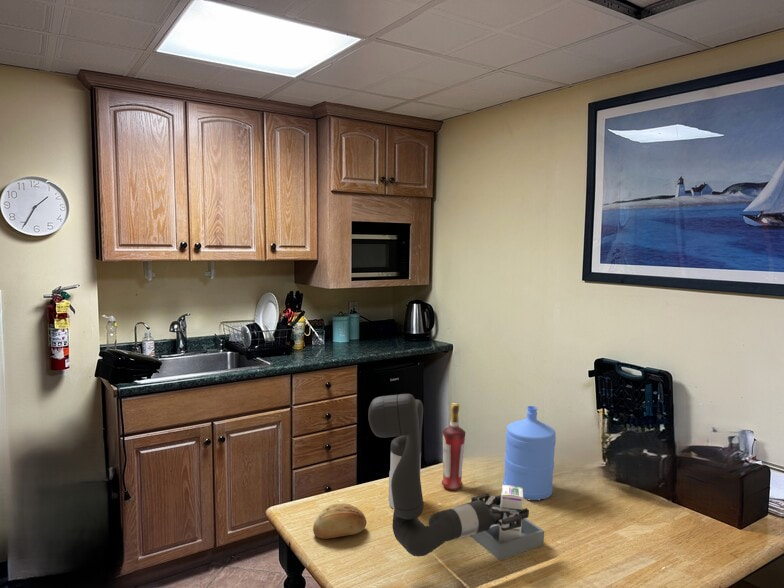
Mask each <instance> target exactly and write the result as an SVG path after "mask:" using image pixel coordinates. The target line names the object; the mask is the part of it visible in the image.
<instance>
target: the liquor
mask: <svg viewBox="0 0 784 588" xmlns="http://www.w3.org/2000/svg"><path fill="white" fill-rule="evenodd" d="M459 411H460V404H459V403H456V402H455V403H454V402H453V403H450V412H451V414H450V420H449V421H450V422H449V426H447V427H446V428H444V429H443V430H442V465H443V466H442V469H443V471H442V475H443V476H442V480H441V485H442V486H443V487H444V488H446V489H447V490H449V489H450V491H456V490H455V489H457V490H458V489H460V488H461V487H462V486H463V485H464V484H463V482H462V481H463V480H462V478H463V477H462V474H463V463H464V462H463V461H464V452H465V441H466V431H465V430H464V429H463V428H462V427H460V425H459V423H460V421H459V420H460V419H459Z"/></svg>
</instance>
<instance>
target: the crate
mask: <svg viewBox="0 0 784 588" xmlns="http://www.w3.org/2000/svg"><path fill="white" fill-rule="evenodd" d="M500 506H501V504H500V505H498V507H500ZM469 537H471V539H473V540H474V541H475V542H477V543H478V544H479V545H480V546H482V547H483V548H484V549H485V550H486V551H488V552H489V553H490V554H492V556H494V557H495V558H496V559H497V560H498V561H502V560H505V559H509V558H511V557H514V556H517V555H520V554H523V553H524V552H525V553H526V552H527V551H531V550H533V549H537V548H539V547H542V546H544V540H545V530H544V529H542V528H541V527H539V526H537V525H536V524H535V523H533V522H532V521H530V520H529V519H528V518H525V519H522V527H521V537H518V538H515V539H512V540H509V541H506V542H503V543H500V542H499V524H494V525H492V526H491V527H490V528H489V529H488V530H486V531H483V532H480V533H477V534H473V535H470V536H469Z"/></svg>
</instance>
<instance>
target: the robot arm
mask: <svg viewBox="0 0 784 588" xmlns="http://www.w3.org/2000/svg"><path fill="white" fill-rule="evenodd" d="M367 415H368V419H367V420H368V424H369V427H370V429H371V431H372V433H373V434H374V436H376V437H378V438H393V437H395V438H394V439H392V440H391V443H390V465H389V466H390V468H389V469H390V470H389V472H388V475H389V476H388V502H389V503H388V505H389V507H390V508H391V509H393V512H392V513H393V514H392V525H391V526H392V527H391V528H392V532H393V536H394V537H395V539H396V541H397V542H398V543H399V544H400V546H402V548H404V549H405V550H406V552H407V553H408V554H409V555H411V556H412V557H413V556H414V557H424V556H427V555H429V554H430V553H432V552H433V551H434V550H436V549H437V548H439V547H441V546H442V545H443V544H445V543H447V542H450V541H454V540H457V539H459V538H466V537H471V536H470V535H473V534H477V533H480V532H483V531H486V530H488V529H489V528H490V527H491V526H492V525H493V524H499V525H501V530H503V531H506V530H510V529H513V528H517V527H521V522H522V519H525V518H526V519H528V518H529V516H530V510H529V509H528V508H523V509H522V510H519V511H517V512H516V511H510V510H509V509H503V508H500V507H498V505H500V504H501V494H499V495H497V496H495V495H490V494H489V493H488V492H487V493H482V494H480V495H479V494H478V495H476V496H472V497H471V499H470V500H471V501H469V502H465V503H462V504H459V505H455V506H454V507H451V508H447V509H443V510H440V511H438V512H434V513H433V514H432V515H431V516H429V519H428V525H425V524H424V523H423V522H422V521H421V520H420V519H419V517H420V516H421V515H422V513H423V511H424V499H423V491H422V489H423V488H422V483H421V463H422V461H421V459H422V458H421V457H422V432H423V431H422V430H423V419H424V405H423V403H422V401H421V400H420V399H416V398H415V397H414V395H413V394H411V393H400V394H389V395H382V396H378V397H375V398H373V399H372V401H371V402H370V404H369V406H368V413H367ZM504 513H506V518H504V519H503V517H504ZM510 515H514V517H510V518H509V516H510Z"/></svg>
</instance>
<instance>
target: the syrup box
mask: <svg viewBox="0 0 784 588" xmlns="http://www.w3.org/2000/svg"><path fill="white" fill-rule="evenodd" d="M500 495H501V506H500V508H503V509H509V510H510V511H516V512H517V511H519V510H522V509H524V507H523V506H524V505H523V504H524V498H523V488H522V487H517V486H510V485H503V484H502V485H501V493H500ZM510 517H514V515H510V516H509V518H510ZM504 518H506V513H504V517H503V519H504ZM521 527H522V522H521ZM521 527H517V528H513V529H510V530H506V531H503V530H501V525H499V542H500V543H503V542H506V541H509V540H512V539H515V538H518V537H521Z"/></svg>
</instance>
